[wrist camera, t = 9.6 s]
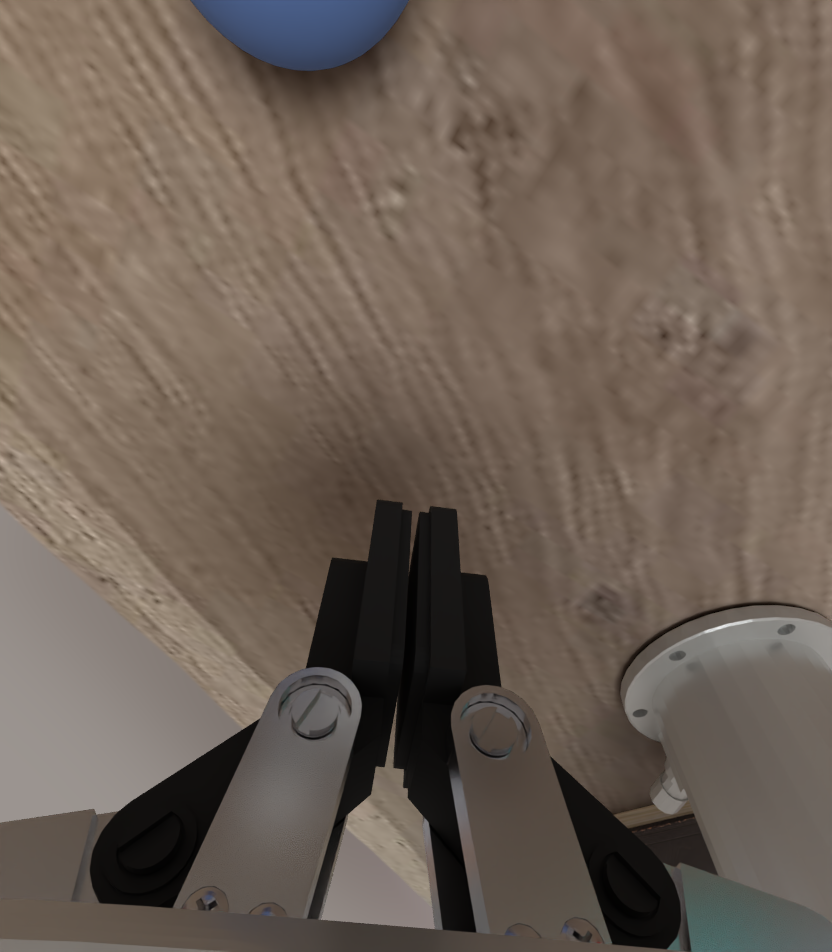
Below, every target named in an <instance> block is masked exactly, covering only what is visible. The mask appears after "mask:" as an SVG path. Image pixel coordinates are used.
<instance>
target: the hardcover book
mask: <svg viewBox="0 0 832 952" xmlns="http://www.w3.org/2000/svg"><path fill="white" fill-rule="evenodd" d="M613 815H614V816H615V817H616V818H617V819H618V820H619V821H621V822H622V823H623V824H624V825H625V826H626V827H627V828H628V829H629V830H630V831H631V832H632V833H633V834H635V835H636V836H637V837H638V838H639V839H640V840H641V841H642V842H643V843H644V844H645V845H646V846H648V847H649V848H650V849H651V850H652V852H653V853H654V854H655V855H656V856H657V857H658V858H659V859H660V861H661V862H662V863H665V864H668V865H670V866H673V867H676V866H677V865H678V864H679V863H683V864H686V865H689V866H692V867H695V868H697V869H700V870H703V871H706V872H709V873H712V874H715V875H717V876H718V873H717V871H716V868H715V866H714V863H713V861H712V858H711V855H710V853H709V850H708V848H707V845H706V843H705V840H704V838H703V835H702V833H701V830H700V828H699V825H698V823H697V820H696V818H695V815H694V812H693V810H692V807H691V805H690V802H689V800H688V801H687V802H686V803H685V804H684V806H683V807H682V808H681V809H680V810H679V811H678V812H677V813H675V814H666V813H664V812H662V811H661V810H659V809H658V808H657V807H656V806H655V805H651V806H646V807H642V808H638V809H634V810H630V811H626V812H622V813H618V814H613Z"/></svg>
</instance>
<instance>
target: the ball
mask: <svg viewBox="0 0 832 952" xmlns="http://www.w3.org/2000/svg"><path fill="white" fill-rule="evenodd" d="M191 1H192V3H193V4H194V5H195V7H196V8H197V9H198V10H199V11H200V12H201V14H202V15H203V16H204V17H205V18H206V19H207V21H208V22H209V23H210V24H212V25H213V26H214V27H215V28H216V29H217V30H218V31H219V32H220V33H221V34H222V35H223V36H224V37H226V38H227V39H228V40H230V41H231V42H232V43H234V44H235V45H236V46H238V47H239V48H240V49H242V50H243V51H245V52H247V53H249V54H250V55H252V56H254V57H256V58H257V59H260V60H262V61H265V62H267V63H270V64H272V65H275V66H278V67H283V68H287V69H291V70H303V71H316V70H323V69H330V68H334V67H337V66H340V65H343V64H346V63H348V62H350V61H352V60H354V59H356V58H358V57H359V56H361V55H363V54H364V53H366V52H367V51H368V50H369V49H371V48H372V47H373V46H374V45H375V44H376V43H378V42H379V41H380V40H381V39H382V38H383V37H384V36H385V35H386V33H387V32H388V31H389V30H390V29H391V27H392V26H393V25H394V24H395V22H396V21H397V19H398V18H399V16H400V15H401V13H402V11H403V10H404V8H405V6H406V5H407V3H408V1H409V0H191Z"/></svg>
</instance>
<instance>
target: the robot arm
mask: <svg viewBox="0 0 832 952" xmlns="http://www.w3.org/2000/svg"><path fill="white" fill-rule="evenodd" d="M411 519H412V511H409V510H402V503H400V502H392V501H384V500H377V503H376V510H375V517H374V524H373V530H372V537H371V544H370V551H369V557H368V562H366V561H357V560H349V559H340V558H332V560H331V564H330V567H329V572H328V576H327V580H326V585H325V589H324V593H323V597H322V602H321V606H320V610H319V615H318V619H317V623H316V627H315V632H314V636H313V640H312V645H311V649H310V653H309V657H308V662H307V666H306V669H302V670H300V671H297V672H295V673H293V674H291V675H289V676H288V677H286V678H285V679H284V680H283V681H282V682H280V683H279V684H278V686H277V687H276V689H275V690H274V692H273V693H272V695H271V696H270V699H269V701H268V703H267V705H266V707H265V709H264V712H263V714H262V716H261V718H260V719H259V720H257V721H255V722H254V723H252V724H251V725H249V726H248V727H246V728H245V729H243V730H241V731H240V732H238V733H237V734H235V735H234V736H232V737H231V738H229V739H227V740H226V741H224V742H223V743H221V744H220V745H218V746H217V747H215V748H213V749H212V750H210V751H209V752H207V753H206V754H204V755H203V756H201V757H199V758H198V759H196V760H195V761H193V762H192V763H190V764H189V765H187V766H186V767H184V768H183V769H181V770H179V771H178V772H176V773H175V774H173V775H171V776H170V777H168V778H167V779H165V780H164V781H162V782H161V783H159V784H158V785H156V786H154V787H153V788H151V789H150V790H148V791H147V792H145V793H143V794H142V795H140V796H139V797H137V798H136V799H134V800H133V801H131V802H130V803H129V804H127V805H126V806H125V807H124V808H122V809H121V810H120V811H118V812H112V813H105V814H98V815H96V813H95V810H94V809H90V810H83V811H77V812H70V813H63V814H56V815H49V816H43V817H36V818H29V819H22V820H16V821H9V822H2V823H0V952H832V621H830V620H828V619H827V618H825V617H823V616H821V615H820V614H818V613H815V612H811V611H808V610H805V609H802V608H796V607H788V606H780V605H755V606H747V607H740V608H733V609H728V610H724V611H720V612H716V613H712V614H708V615H706V616H703V617H700V618H698V619H695V620H692V621H690V622H687V623H685V624H683V625H681V626H679V627H677V628H675V629H673V630H671V631H669V632H667V633H666V634H664V635H663V636H661V637H660V638H658V639H657V640H655V641H654V642H652V643H651V644H650V645H649V646H648V647H646V648H645V649H644V650H643V651H642V652H641V653H640V654H639V655H638V656H637V657H636V658H635V660H634V661H633V662H632V664H631V665H630V666H629V668H628V669H627V671H626V673H625V675H624V678H623V680H622V682H621V691H620V696H621V700H622V704H623V707H624V710H625V713H626V715H627V717H628V719H629V722H630V723H631V724H632V725H633V726H634V727H635V729H636V730H637V731H639V732H640V733H642V734H643V735H645V736H646V737H648V738H650V739H652V740H655V741H658V742H660V743H661V744H662V746H663V749H664V751H665V754H666V760H665V763H664V766H665V771H664V772H663V773H662V774H661V775H660V776H659V777H658V778H657V780H656V781H655V782H654V784H653V785H652V786H651V788H650V796H651V799H652V802H653V803H654V804H655V806H656V807H657V808H658V809H659V810H661V811H662V812H664V813H666V814H675V813H677V812H678V811H679V810H680V809H681V808H682V807H683V806H684V804H685V803H686V802H687V801H688V800H689V802H690V805H691V807H692V810H693V812H694V815H695V818H696V820H697V823H698V825H699V828H700V830H701V833H702V835H703V838H704V840H705V843H706V845H707V848H708V850H709V853H710V855H711V858H712V861H713V863H714V866H715V868H716V871H717V873H718V876H717V875H715V874H712V873H709V872H706V871H703V870H700V869H697V868H695V867H692V866H689V865H686V864H683V863H679V864H678V865H677V866H676V867H673V866H670V865H668V864H665V863H662V862H661V861H660V859H659V858H658V857H657V856H656V855H655V854H654V853H653V852H652V850H651V849H650V848H649V847H648V846H646V845H645V844H644V843H643V842H642V841H641V840H640V839H639V838H638V837H637V836H636V835H635V834H633V833H632V832H631V831H630V830H629V829H628V828H627V827H626V826H625V825H624V824H623V823H622V822H621V821H619V820H618V819H617V818H616V817H615V816H614V815H613V814H612V813H611V812H610V811H609V810H608V809H607V808H605V807H604V806H603V805H602V804H601V803H600V802H599V801H598V800H597V799H596V798H595V797H594V796H593V795H591V794H590V793H589V792H588V791H587V790H586V789H585V788H584V787H583V786H582V785H581V784H580V783H578V782H577V781H576V780H575V779H574V778H573V777H572V776H571V775H570V774H569V773H568V772H567V771H566V770H564V769H563V768H562V767H561V766H560V765H559V764H558V763H557V762H556V761H555V760H554V759H553V758H552V757H550V755H549V752H548V749H547V746H546V743H545V740H544V736H543V733H542V730H541V727H540V724H539V722H538V720H537V718H536V716H535V714H534V712H533V710H532V709H531V708H530V707H529V706H528V704H527V703H526V702H525V701H524V700H523V699H522V698H520V697H519V696H517V695H516V694H515V693H513V692H512V691H509V690H507V689H504V688H501V681H500V673H499V665H498V657H497V649H496V641H495V632H494V624H493V616H492V608H491V600H490V591H489V584H488V579H487V577H486V575H478V574H469V573H461V571H460V555H459V539H458V523H457V510H456V509H449V508H441V507H433V506H431V507H430V509H429V513H425V512H420V513H419V517H418V523H417V529H416V535H415V541H414V547H413V553H412V559H411V565H410V571H409V556H410V537H411ZM408 575H409V577H408ZM397 696H398V698H397ZM396 702H397V714H396V731H395V747H394V768H398V769H404V782H403V788H408V798H409V800H410V801H411V802H412V803H413V804H414V806H415V807H416V808H417V809H418V810H419V812H420V813H421V814H422V815H423V834H424V842H425V851H426V859H427V867H428V875H429V884H430V892H431V900H432V908H433V917H434V925H435V929H425V928H413V927H400V926H387V925H376V924H364V923H352V922H340V921H328V920H321V917H322V913H323V910H324V906H325V902H326V898H327V895H328V891H329V887H330V884H331V880H332V876H333V872H334V868H335V864H336V861H337V857H338V853H339V850H340V846H341V842H342V838H343V835H344V830H345V827H346V823H347V819H348V814H349V813H350V812H351V811H352V810H353V809H354V808H356V807H357V806H358V805H359V804H360V803H361V802H363V801H364V800H365V799H366V798H367V797H368V796H369V795H371V791H372V785H373V779H374V773H375V767H376V766H378V767H385V762H386V756H387V751H388V745H389V740H390V734H391V729H392V724H393V718H394V713H395V707H396Z"/></svg>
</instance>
